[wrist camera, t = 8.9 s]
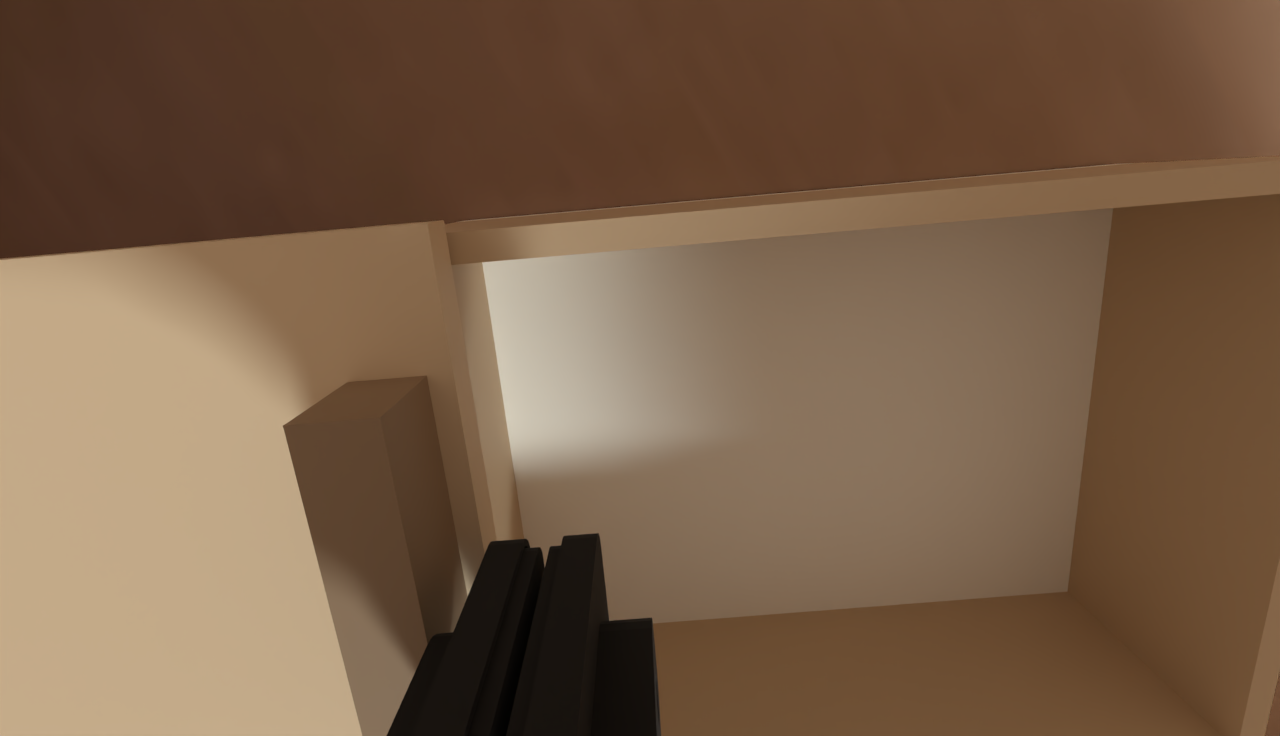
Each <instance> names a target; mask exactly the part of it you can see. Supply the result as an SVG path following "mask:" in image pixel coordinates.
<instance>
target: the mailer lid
mask: <svg viewBox="0 0 1280 736" xmlns="http://www.w3.org/2000/svg"><path fill="white" fill-rule="evenodd" d="M492 541H497V537H496V531H495V525H494V519H493V513H492V507H491V501H490V495H489V489H488V483H487V477H486V471H485V465H484V459H483V453H482V447H481V441H480V435H479V429H478V423H477V417H476V411H475V405H474V398H473V392H472V386H471V380H470V374H469V368H468V362H467V356H466V350H465V344H464V338H463V332H462V326H461V320H460V314H459V308H458V302H457V296H456V290H455V284H454V278H453V272H452V266H451V260H450V254H449V247H448V241H447V235H446V229H445V223H444V220H439V221H427V222H416V223H404V224H393V225H381V226H370V227H358V228H347V229H335V230H324V231H313V232H301V233H290V234H278V235H267V236H255V237H244V238H232V239H221V240H209V241H198V242H186V243H175V244H163V245H152V246H140V247H129V248H117V249H106V250H95V251H83V252H72V253H60V254H49V255H37V256H26V257H14V258H3V259H0V736H387V734H388V731H389V729H390V727H391V725H392V723H393V720H394V718H395V716H396V714H397V711H398V709H399V707H400V705H401V702H402V700H403V698H404V696H405V694H406V691H407V689H408V687H409V685H410V682H411V680H412V678H413V676H414V673H415V671H416V669H417V667H418V665H419V662H420V660H421V658H422V656H423V653H424V651H425V649H426V647H427V644H428V643H429V641H430V639H431V638H432V637H433V636H434V635H436V634H438V633H452V632H454V629H455V627H456V624H457V622H458V619H459V617H460V614H461V612H462V609H463V607H464V604H465V602H466V599H467V597H468V594H469V592H470V589H471V587H472V584H473V582H474V580H475V577H476V575H477V572H478V570H479V567H480V565H481V562H482V560H483V557H484V555H485V552H486V550H487V547H488V545H489V543H490V542H492Z"/></svg>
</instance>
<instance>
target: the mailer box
mask: <svg viewBox="0 0 1280 736" xmlns="http://www.w3.org/2000/svg"><path fill="white" fill-rule="evenodd" d="M445 229H446V235H447V241H448V247H449V254H450V260H451V266H452V272H453V278H454V284H455V290H456V296H457V302H458V308H459V314H460V320H461V326H462V332H463V338H464V344H465V350H466V356H467V362H468V368H469V374H470V380H471V386H472V392H473V398H474V405H475V411H476V417H477V423H478V429H479V435H480V441H481V447H482V453H483V459H484V465H485V471H486V477H487V483H488V489H489V495H490V501H491V507H492V513H493V519H494V525H495V531H496V537H497V541H502V540H515V539H527V540H528V542H529V545H530V548H534V547H540V548H541V550H542V553H543V559H544V566H545V565H546V561H547V556H548V552H549V548H550V547H551V546H560V545H561V543H562V539H563V536H567V535H580V534H593V533H599V536H600V542H601V550H602V559H603V568H604V577H605V587H606V596H607V605H608V614H609V621H613V620H626V619H639V618H652V620H653V630H654V641H655V653H656V664H657V677H658V691H659V706H660V723H661V736H1265V732H1266V728H1267V724H1268V720H1269V716H1270V711H1271V707H1272V703H1273V699H1274V694H1275V690H1276V686H1277V682H1278V677H1279V673H1280V156H1266V157H1246V158H1225V159H1205V160H1185V161H1164V162H1144V163H1124V164H1108V165H1097V166H1085V167H1074V168H1062V169H1051V170H1039V171H1028V172H1016V173H1005V174H994V175H982V176H971V177H959V178H948V179H936V180H925V181H913V182H902V183H890V184H879V185H867V186H856V187H844V188H833V189H821V190H810V191H798V192H787V193H775V194H764V195H752V196H741V197H729V198H718V199H706V200H695V201H683V202H672V203H661V204H649V205H638V206H626V207H615V208H603V209H592V210H580V211H569V212H557V213H546V214H534V215H523V216H511V217H500V218H488V219H477V220H465V221H459V222H454V223H449V224H445Z"/></svg>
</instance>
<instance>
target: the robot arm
mask: <svg viewBox="0 0 1280 736" xmlns="http://www.w3.org/2000/svg"><path fill="white" fill-rule="evenodd" d="M387 736H661V723H660V706H659V691H658V677H657V664H656V653H655V641H654V630H653V620H652V618H639V619H626V620H613V621H609V614H608V605H607V596H606V587H605V577H604V568H603V559H602V550H601V542H600V536H599V533H593V534H580V535H567V536H563V539H562V543H561V545H560V546H551V547H550V548H549V552H548V556H547V561H546V565H545V566H544V559H543V553H542V550H541V548H540V547H534V548H530V545H529V542H528V540H527V539H515V540H502V541H492V542H490V543H489V545H488V547H487V550H486V552H485V555H484V557H483V560H482V562H481V565H480V567H479V570H478V572H477V575H476V577H475V580H474V582H473V584H472V587H471V589H470V592H469V594H468V597H467V599H466V602H465V604H464V607H463V609H462V612H461V614H460V617H459V619H458V622H457V624H456V627H455V629H454V632H452V633H438V634H436V635H434V636H433V637H432V638H431V639H430V641H429V643H428V644H427V647H426V649H425V651H424V653H423V656H422V658H421V660H420V662H419V665H418V667H417V669H416V671H415V673H414V676H413V678H412V680H411V682H410V685H409V687H408V689H407V691H406V694H405V696H404V698H403V700H402V702H401V705H400V707H399V709H398V711H397V714H396V716H395V718H394V720H393V723H392V725H391V727H390V729H389V731H388V734H387Z"/></svg>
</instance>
